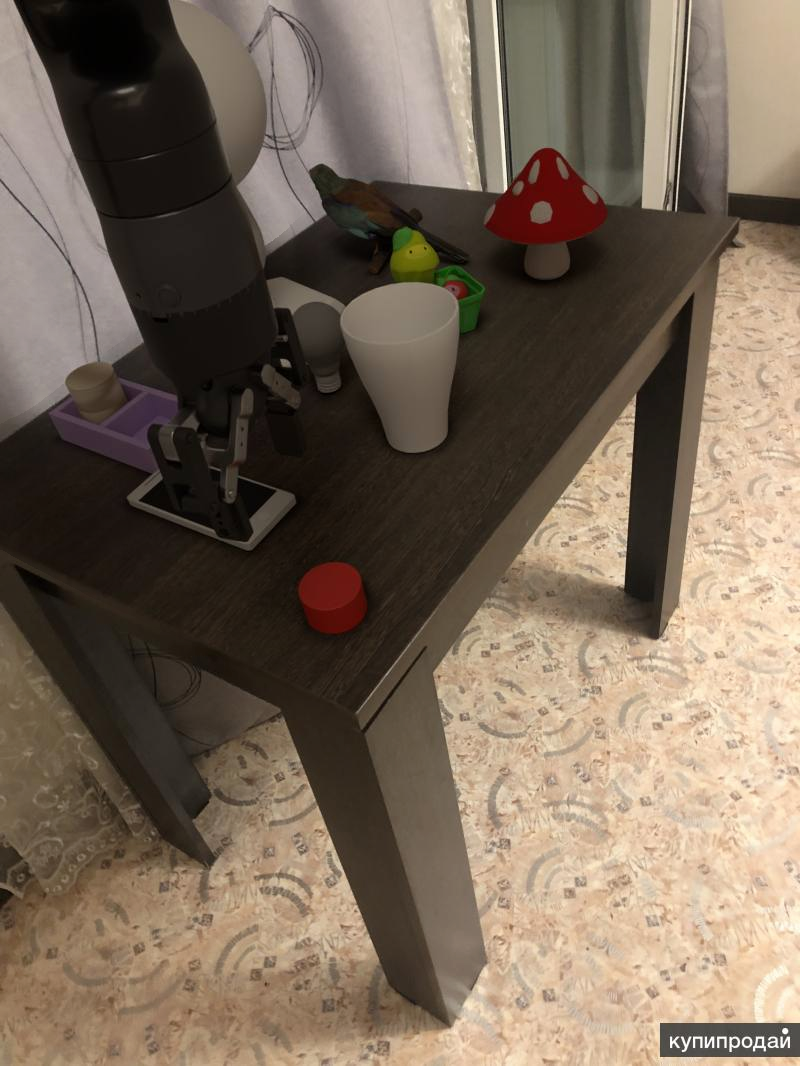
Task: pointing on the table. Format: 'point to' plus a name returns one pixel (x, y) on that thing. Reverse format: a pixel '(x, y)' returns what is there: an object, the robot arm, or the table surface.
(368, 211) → the bird figurine
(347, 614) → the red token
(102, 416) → the ivory token
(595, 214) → the decorative mushroom
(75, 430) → the purple divided tray
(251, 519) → the smartphone
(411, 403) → the cup
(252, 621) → the table surface
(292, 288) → the white cartoon figure
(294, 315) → the light bulb
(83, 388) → the ivory token
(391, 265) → the fruit basket
